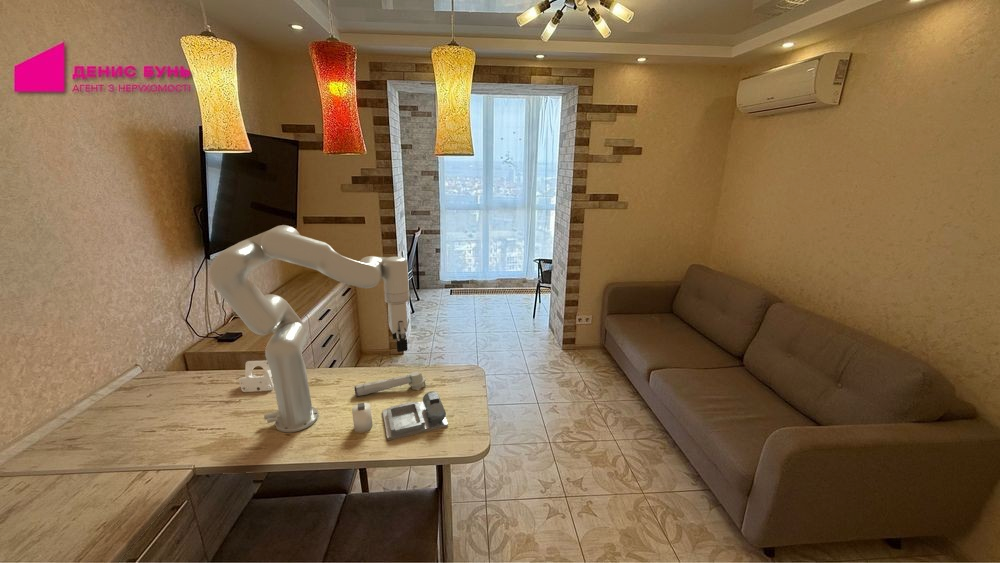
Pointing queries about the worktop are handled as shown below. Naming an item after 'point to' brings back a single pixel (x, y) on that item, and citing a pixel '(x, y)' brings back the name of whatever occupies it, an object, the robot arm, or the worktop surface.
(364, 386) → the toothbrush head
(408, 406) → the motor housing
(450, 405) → the worktop surface
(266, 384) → the mounting bracket
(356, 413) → the cylinder
